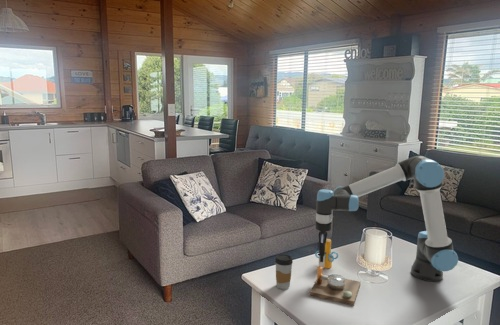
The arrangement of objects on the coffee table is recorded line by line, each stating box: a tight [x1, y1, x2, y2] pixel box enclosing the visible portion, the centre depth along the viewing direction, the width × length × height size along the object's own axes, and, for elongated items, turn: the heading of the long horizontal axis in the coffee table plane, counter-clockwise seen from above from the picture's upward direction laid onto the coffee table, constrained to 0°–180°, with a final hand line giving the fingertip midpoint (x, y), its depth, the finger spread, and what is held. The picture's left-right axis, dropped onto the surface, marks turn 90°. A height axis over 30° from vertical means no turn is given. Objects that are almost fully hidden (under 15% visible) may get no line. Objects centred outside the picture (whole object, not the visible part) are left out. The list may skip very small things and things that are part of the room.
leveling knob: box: [316, 265, 346, 290], centre depth 184 cm, size 13×8×8 cm, turn 67°
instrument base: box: [309, 273, 361, 306], centre depth 184 cm, size 20×20×4 cm
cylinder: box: [314, 238, 339, 269], centre depth 208 cm, size 12×10×15 cm
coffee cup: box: [274, 253, 293, 290], centre depth 186 cm, size 8×8×15 cm
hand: (321, 267), depth 191 cm, fingers closed
